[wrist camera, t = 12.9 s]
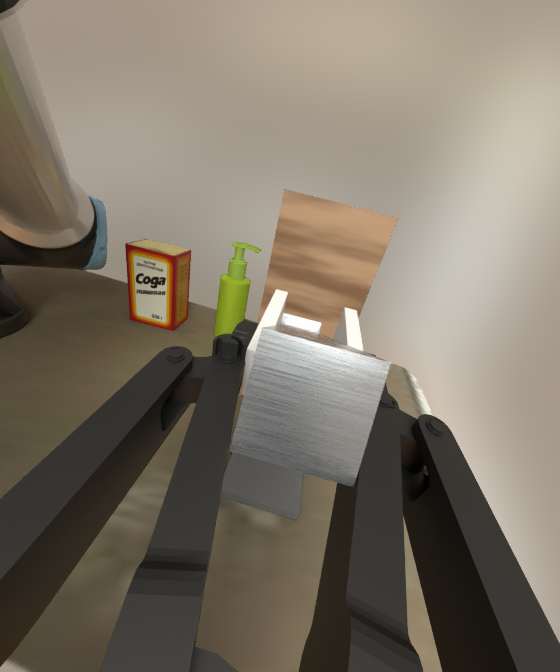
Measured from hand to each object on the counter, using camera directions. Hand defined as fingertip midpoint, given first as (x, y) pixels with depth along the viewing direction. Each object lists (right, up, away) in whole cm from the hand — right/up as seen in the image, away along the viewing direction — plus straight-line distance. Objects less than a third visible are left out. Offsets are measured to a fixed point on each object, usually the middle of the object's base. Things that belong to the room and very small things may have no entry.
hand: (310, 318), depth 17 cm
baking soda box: (-28, +2, +41) cm, 50 cm away
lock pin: (-1, -4, +5) cm, 6 cm away
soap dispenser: (-13, -1, +41) cm, 43 cm away
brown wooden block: (0, -9, +33) cm, 34 cm away
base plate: (-3, -16, +18) cm, 24 cm away
